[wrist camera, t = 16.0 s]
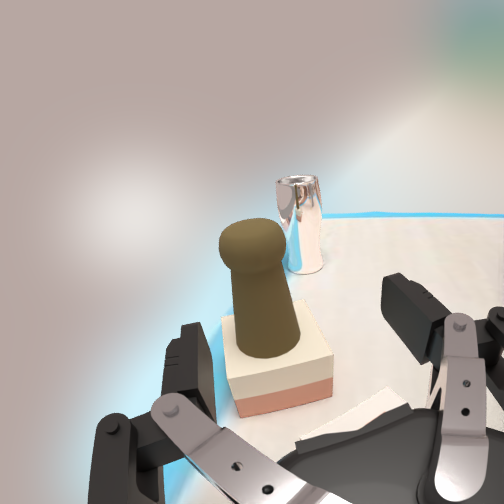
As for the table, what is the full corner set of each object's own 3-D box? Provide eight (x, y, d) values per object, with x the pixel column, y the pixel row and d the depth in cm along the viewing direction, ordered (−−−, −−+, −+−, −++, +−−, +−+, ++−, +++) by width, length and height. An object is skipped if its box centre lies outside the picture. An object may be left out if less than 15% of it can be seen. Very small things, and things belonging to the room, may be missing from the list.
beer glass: (317, 278, 46) (309, 184, 40) (278, 272, 50) (265, 184, 44) (331, 258, 52) (325, 174, 45) (295, 254, 55) (286, 174, 49)
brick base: (307, 340, 34) (304, 299, 31) (332, 396, 26) (333, 354, 23) (232, 357, 33) (221, 316, 31) (240, 417, 25) (227, 379, 23)
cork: (224, 352, 26) (193, 239, 21) (251, 313, 31) (231, 211, 26) (289, 363, 23) (273, 240, 19) (308, 319, 28) (297, 209, 24)
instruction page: (387, 387, 25) (387, 384, 25) (433, 428, 19) (434, 426, 19) (300, 438, 22) (299, 436, 22) (342, 495, 16) (343, 494, 16)
